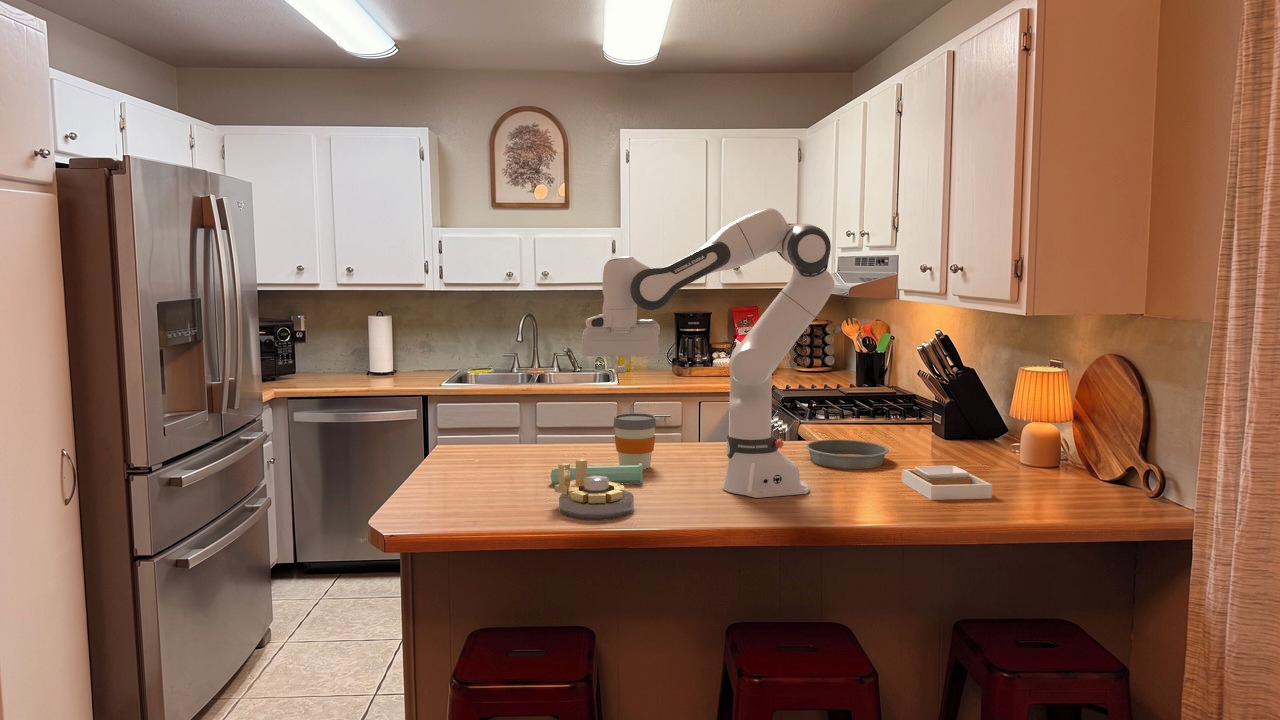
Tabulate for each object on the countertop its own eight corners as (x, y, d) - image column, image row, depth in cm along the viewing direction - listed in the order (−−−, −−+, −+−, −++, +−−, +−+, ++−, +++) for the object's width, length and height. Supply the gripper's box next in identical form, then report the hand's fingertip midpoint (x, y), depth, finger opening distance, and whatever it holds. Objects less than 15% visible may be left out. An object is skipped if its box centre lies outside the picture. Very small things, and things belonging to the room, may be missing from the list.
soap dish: (954, 482, 224) (955, 464, 223) (972, 492, 214) (973, 473, 213) (910, 483, 222) (911, 465, 222) (926, 493, 213) (927, 474, 212)
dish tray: (957, 480, 225) (958, 468, 224) (991, 498, 207) (992, 484, 206) (901, 482, 223) (902, 469, 223) (930, 499, 205) (931, 486, 205)
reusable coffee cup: (662, 469, 238) (662, 418, 236) (622, 473, 233) (622, 421, 232) (646, 460, 250) (646, 412, 248) (607, 464, 245) (607, 414, 243)
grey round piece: (630, 498, 207) (630, 469, 207) (636, 519, 190) (636, 487, 189) (559, 500, 206) (559, 470, 205) (559, 521, 188) (558, 489, 187)
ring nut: (635, 494, 198) (635, 466, 197) (597, 506, 188) (597, 476, 187) (585, 483, 209) (585, 456, 208) (547, 493, 199) (546, 465, 198)
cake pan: (898, 471, 237) (899, 455, 236) (813, 470, 237) (813, 455, 237) (876, 452, 261) (876, 438, 261) (799, 452, 262) (799, 438, 261)
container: (549, 463, 220) (642, 461, 220) (551, 467, 226) (641, 465, 226) (549, 485, 218) (642, 483, 219) (551, 488, 224) (642, 486, 224)
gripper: (658, 318, 215) (658, 371, 216) (580, 319, 213) (580, 372, 214) (661, 320, 208) (661, 374, 210) (580, 320, 206) (581, 375, 208)
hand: (620, 373), depth 212 cm, fingers closed
